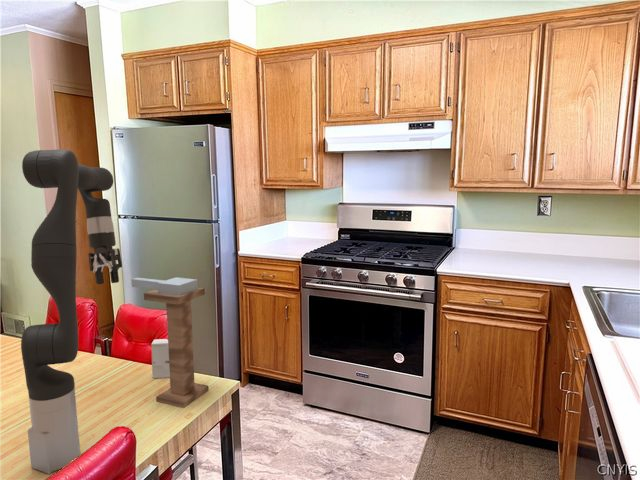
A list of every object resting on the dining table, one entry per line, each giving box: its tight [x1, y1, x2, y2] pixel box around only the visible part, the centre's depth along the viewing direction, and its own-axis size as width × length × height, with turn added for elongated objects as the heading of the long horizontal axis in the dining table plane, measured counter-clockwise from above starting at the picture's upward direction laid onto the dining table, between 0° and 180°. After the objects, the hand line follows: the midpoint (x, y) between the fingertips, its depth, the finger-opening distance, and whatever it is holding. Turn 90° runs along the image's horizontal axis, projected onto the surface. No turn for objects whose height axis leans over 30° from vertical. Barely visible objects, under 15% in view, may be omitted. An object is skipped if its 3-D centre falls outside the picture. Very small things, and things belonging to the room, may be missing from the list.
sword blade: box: [131, 276, 199, 296], centre depth 136 cm, size 8×21×3 cm, turn 67°
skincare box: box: [150, 338, 170, 379], centre depth 152 cm, size 6×4×12 cm
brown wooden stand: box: [143, 287, 209, 409], centre depth 136 cm, size 12×12×33 cm
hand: (107, 283), depth 141 cm, fingers open, 8 cm apart
